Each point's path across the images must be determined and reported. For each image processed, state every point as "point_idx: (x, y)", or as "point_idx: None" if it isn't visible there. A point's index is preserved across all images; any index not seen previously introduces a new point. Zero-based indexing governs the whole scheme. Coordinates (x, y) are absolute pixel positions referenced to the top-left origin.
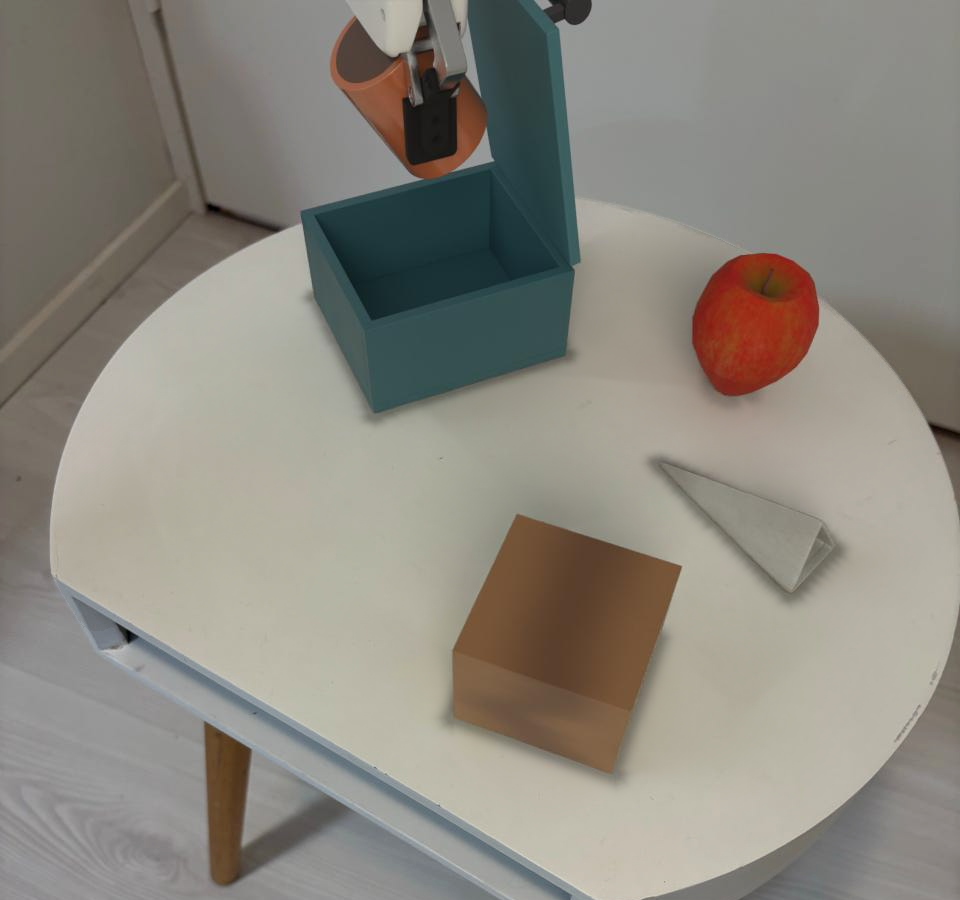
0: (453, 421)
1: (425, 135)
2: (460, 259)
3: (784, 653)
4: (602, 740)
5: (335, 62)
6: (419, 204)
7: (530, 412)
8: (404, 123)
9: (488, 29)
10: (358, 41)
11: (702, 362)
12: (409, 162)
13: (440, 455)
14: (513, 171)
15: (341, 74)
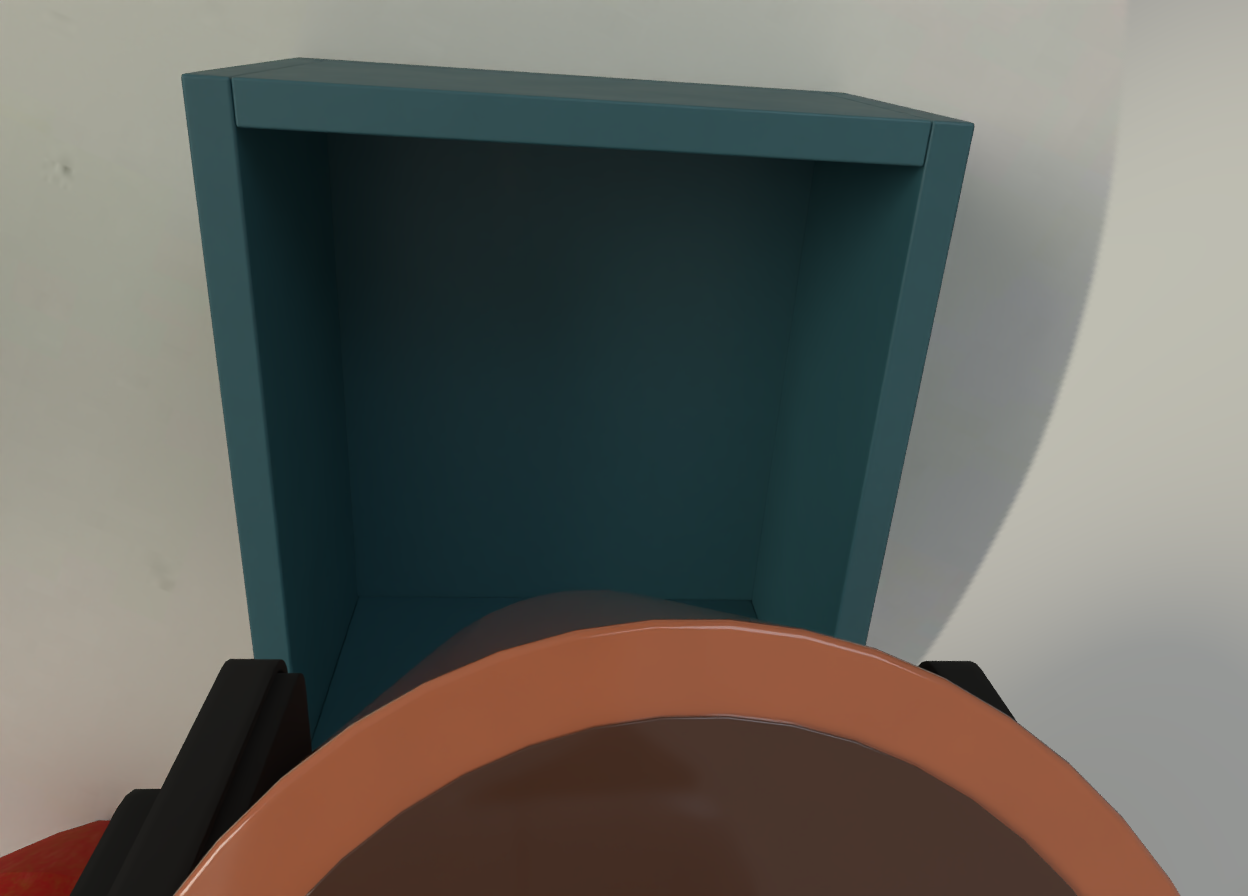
0: (199, 261)
1: (79, 891)
2: (746, 523)
3: None
4: None
5: (910, 750)
6: (830, 523)
7: (173, 453)
8: (182, 844)
9: None
10: None
11: (20, 866)
12: (226, 663)
13: (78, 172)
14: None
15: (659, 740)
